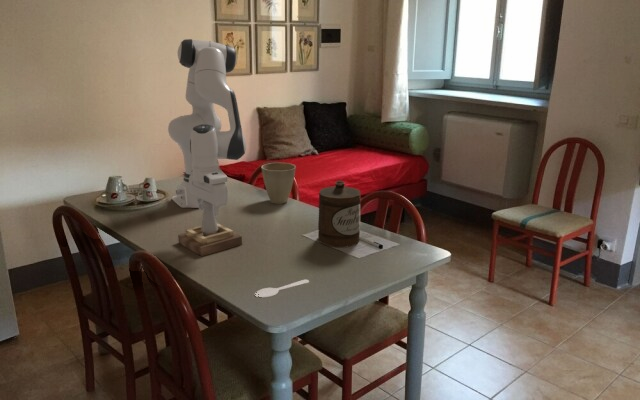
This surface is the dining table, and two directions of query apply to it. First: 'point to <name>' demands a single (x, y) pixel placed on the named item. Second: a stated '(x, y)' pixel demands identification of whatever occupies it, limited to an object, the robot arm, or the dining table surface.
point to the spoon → (277, 289)
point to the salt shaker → (208, 220)
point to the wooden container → (339, 215)
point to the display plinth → (209, 240)
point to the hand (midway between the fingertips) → (208, 212)
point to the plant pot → (278, 180)
